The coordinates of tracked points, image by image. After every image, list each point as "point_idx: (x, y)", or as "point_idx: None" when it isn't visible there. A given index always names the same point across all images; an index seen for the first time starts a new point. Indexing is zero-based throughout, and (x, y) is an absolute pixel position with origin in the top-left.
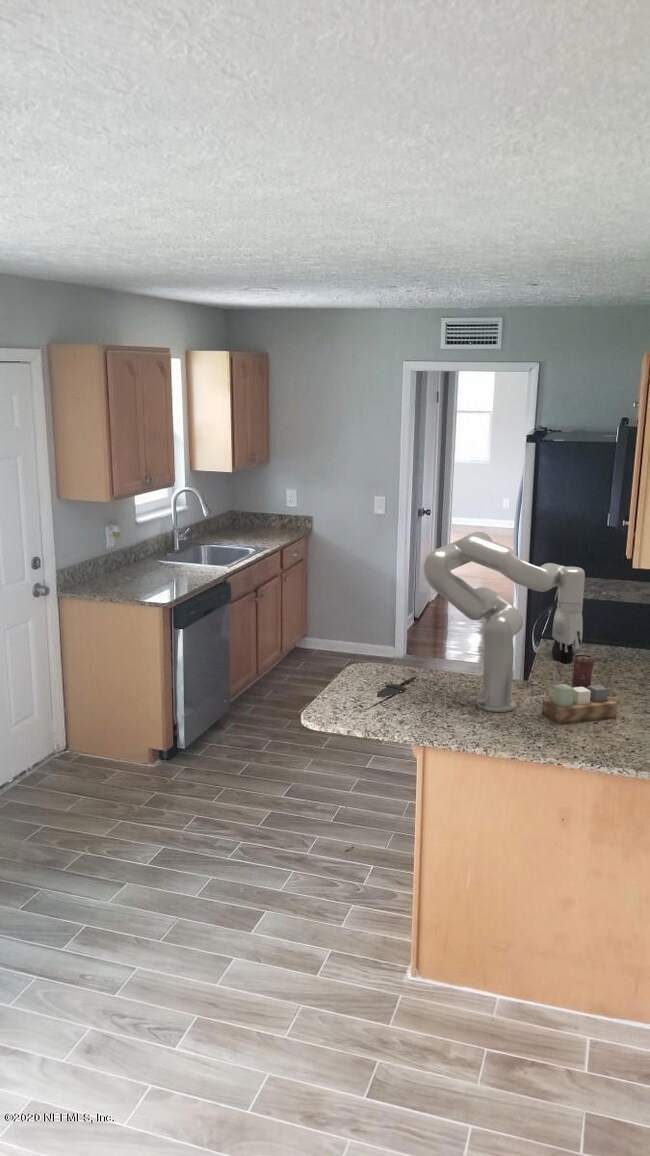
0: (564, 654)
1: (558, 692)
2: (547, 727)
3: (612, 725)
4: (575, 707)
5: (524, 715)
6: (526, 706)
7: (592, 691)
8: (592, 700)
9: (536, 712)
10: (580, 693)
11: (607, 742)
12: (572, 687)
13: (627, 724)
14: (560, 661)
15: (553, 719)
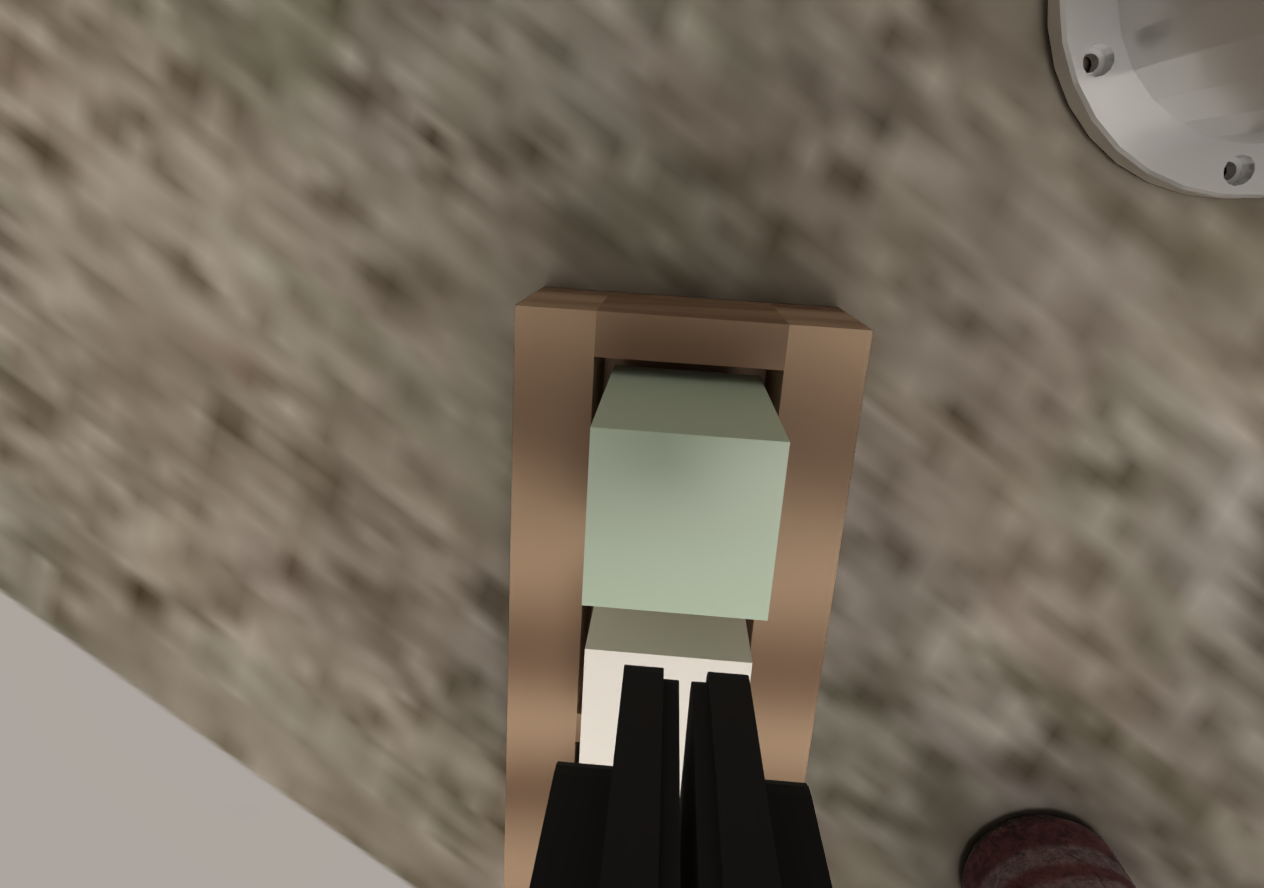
0: (605, 872)
1: (662, 415)
2: (532, 141)
3: (407, 679)
4: (528, 499)
5: (883, 115)
6: (1073, 292)
7: None
8: None
9: (895, 285)
10: (584, 659)
11: (108, 419)
12: (1107, 873)
13: (393, 782)
14: (736, 684)
15: (641, 295)
